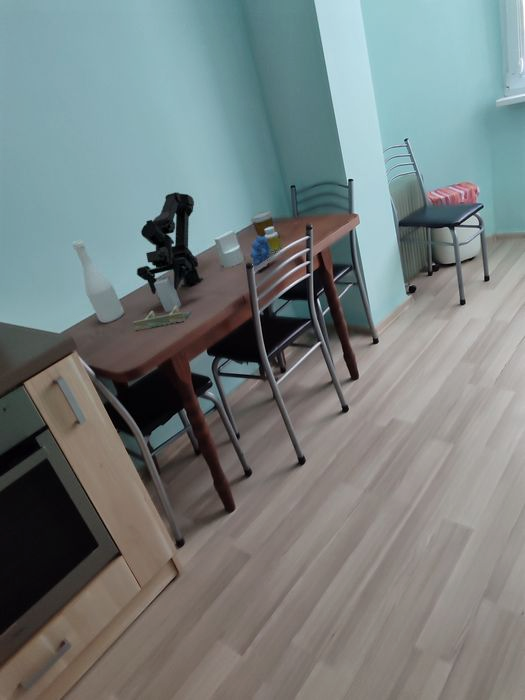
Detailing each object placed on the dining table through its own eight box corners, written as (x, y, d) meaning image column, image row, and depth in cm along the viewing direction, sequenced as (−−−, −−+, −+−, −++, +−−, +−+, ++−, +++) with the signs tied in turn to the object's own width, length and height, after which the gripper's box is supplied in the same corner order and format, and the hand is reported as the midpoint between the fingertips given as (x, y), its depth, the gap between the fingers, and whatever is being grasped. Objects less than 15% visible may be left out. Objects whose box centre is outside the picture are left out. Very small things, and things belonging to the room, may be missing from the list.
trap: (144, 321, 168) (140, 313, 167) (191, 311, 163) (188, 303, 162) (136, 330, 163) (132, 322, 161) (184, 321, 158) (181, 313, 156)
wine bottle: (99, 319, 184) (62, 244, 171) (122, 309, 187) (88, 234, 173) (101, 326, 176) (64, 248, 163) (126, 315, 179) (91, 238, 165)
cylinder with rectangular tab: (231, 268, 193) (222, 239, 188) (218, 266, 200) (209, 239, 194) (248, 259, 198) (239, 230, 192) (235, 258, 204) (226, 230, 199)
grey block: (169, 306, 174) (158, 278, 169) (181, 304, 173) (170, 276, 168) (165, 312, 170) (153, 283, 165) (177, 310, 169) (165, 281, 164)
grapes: (264, 261, 189) (256, 232, 183) (278, 260, 185) (270, 230, 179) (247, 274, 181) (238, 243, 176) (261, 273, 177) (252, 242, 172)
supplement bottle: (280, 252, 193) (274, 228, 189) (268, 255, 195) (261, 231, 191) (282, 247, 198) (276, 224, 194) (270, 250, 200) (263, 227, 195)
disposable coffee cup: (282, 236, 213) (275, 209, 207) (271, 244, 206) (264, 217, 201) (264, 238, 218) (257, 212, 213) (253, 246, 212) (245, 219, 206)
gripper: (127, 246, 167) (127, 288, 162) (176, 234, 161) (177, 277, 157) (145, 259, 177) (145, 299, 173) (191, 248, 172) (193, 289, 167)
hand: (164, 291), depth 167 cm, fingers open, 8 cm apart
